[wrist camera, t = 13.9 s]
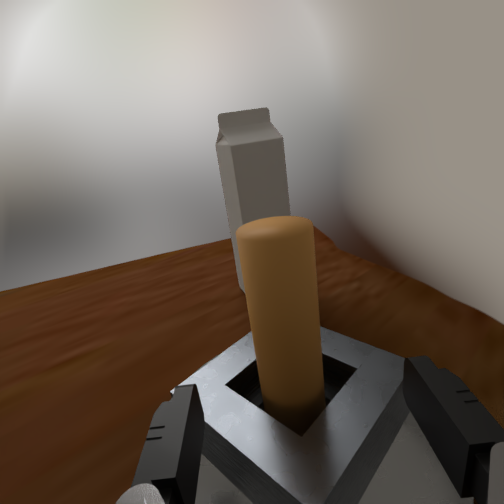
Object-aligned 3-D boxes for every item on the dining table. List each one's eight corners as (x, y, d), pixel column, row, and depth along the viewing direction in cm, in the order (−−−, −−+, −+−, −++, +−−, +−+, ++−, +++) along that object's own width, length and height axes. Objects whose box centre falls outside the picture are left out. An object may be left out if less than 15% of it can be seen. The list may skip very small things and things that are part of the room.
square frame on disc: (99, 461, 23) (73, 403, 21) (278, 322, 36) (272, 277, 34) (371, 880, 9) (372, 831, 7) (504, 414, 22) (517, 349, 20)
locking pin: (255, 428, 22) (219, 234, 17) (291, 391, 24) (269, 213, 19) (303, 464, 19) (278, 246, 14) (338, 418, 22) (328, 220, 17)
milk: (239, 287, 45) (209, 116, 37) (278, 275, 46) (258, 109, 38) (255, 307, 39) (224, 111, 31) (299, 292, 41) (280, 103, 33)
